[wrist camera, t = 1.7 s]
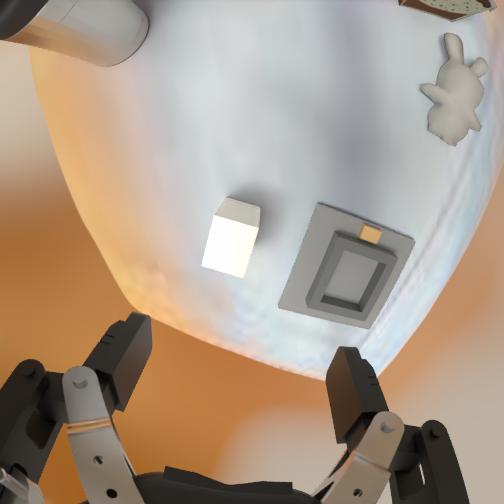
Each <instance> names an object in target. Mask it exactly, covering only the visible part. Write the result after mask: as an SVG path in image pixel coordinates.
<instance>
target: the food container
mask: <svg viewBox="0 0 504 504" xmlns="http://www.w3.org/2000/svg"><path fill="white" fill-rule="evenodd" d="M398 2H399V6H403V7H407V8H411V9H414V10H418V11H421V12H425V13H428V14H431V15H434V16H437V17H440V18H443V19H446V20H448V21H451V22H453V21H456V20H459V19H462V18H465V17H467V16H470V15H473V14H477V13H480V12H483V11H486V10H489V11H490V12H491V11H493V10H494V9H495V8H496V7H497V6H496V4H495V2H494V0H398Z"/></svg>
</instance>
